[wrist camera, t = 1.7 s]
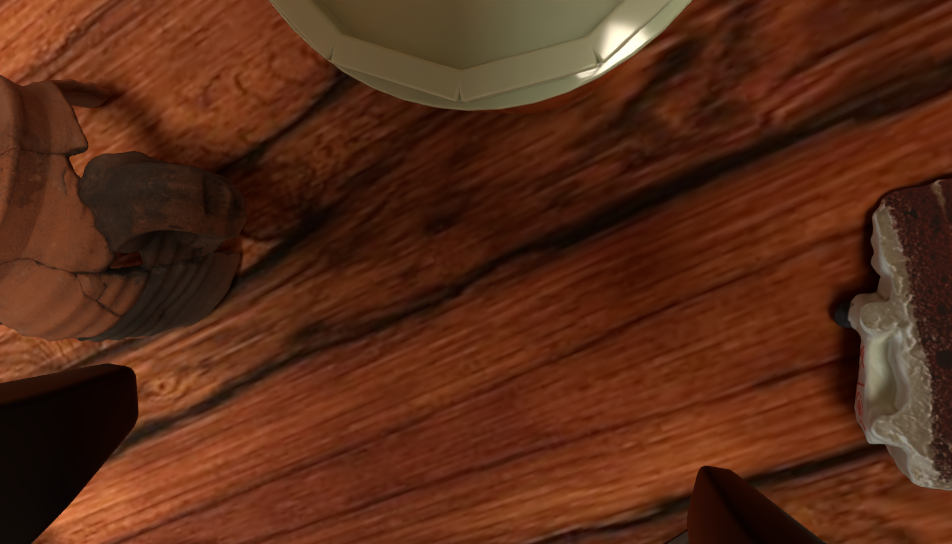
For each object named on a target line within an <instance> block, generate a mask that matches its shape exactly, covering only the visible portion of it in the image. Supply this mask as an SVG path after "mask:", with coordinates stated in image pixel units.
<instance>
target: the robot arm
mask: <svg viewBox="0 0 952 544" xmlns="http://www.w3.org/2000/svg"><path fill="white" fill-rule="evenodd" d="M137 419H138V397H137V383H136V375H135V373H134V371H133V370H132V369H131V368H130V367H126V366H121V365H115V364H100V365H95V366H89V367H84V368H79V369H74V370H68V371H63V372H58V373H53V374H47V375H42V376H37V377H31V378H26V379H21V380H16V381H10V382H5V383H0V544H32V543H33V542H34V541H35V540H36V539H37V538H38V537H39V536H40V535H41V534H42V533H43V532H44V531H45V529H46V528H47V527H48V526H49V525H50V524H51V523H52V522H53V521H54V520H55V519H56V518H57V517H58V516H59V515H60V514H61V513H62V512H63V511H64V510H65V509H66V508H67V507H68V506H69V505H70V503H71V502H72V501H73V500H74V499H75V498H76V496H77V495H78V494H79V493H80V492H81V491H82V489H83V488H84V487H85V486H86V485H87V483H88V482H89V481H90V480H91V479H92V477H93V476H94V475H95V474H96V472H97V471H98V470H99V469H100V468H101V466H102V465H103V464H104V463H105V462H106V460H107V459H108V458H109V457H110V456H111V454H112V453H113V452H114V451H115V450H116V448H117V447H118V446H119V445H120V444H121V442H122V441H123V440H124V439H125V437H126V436H127V435H128V434H129V433H130V431H131V430H132V429H133V427H134V426H135V424H136V421H137ZM687 533H688V541H689V544H826V543H825V542H823V541H822V540H821V539H819V538H818V537H817V536H816V535H814V534H813V533H812V532H810V531H809V530H808V529H806V528H805V527H804V526H803V525H801V524H800V523H799V522H797V521H796V520H795V519H794V518H792V517H791V516H790V515H788V514H787V513H786V512H785V511H783V510H782V509H781V508H779V507H778V506H777V505H775V504H774V503H773V502H772V501H770V500H769V499H768V498H766V497H765V496H764V495H763V494H761V493H760V492H759V491H757V490H756V489H755V488H754V487H752V486H751V485H750V484H748V483H747V482H746V481H745V480H743V479H742V478H741V477H739V476H738V475H737V474H735V473H734V472H733V471H731V470H728V469H723V468H718V467H712V466H703V467H701V468H700V469H699V471H698V474H697V477H696V481H695V485H694V489H693V494H692V498H691V502H690V506H689V510H688V515H687Z"/></svg>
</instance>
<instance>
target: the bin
mask: <svg viewBox="0 0 952 544" xmlns="http://www.w3.org/2000/svg"><path fill="white" fill-rule="evenodd" d="M667 544H689V541H688V533H687V531H686V532H685V533H683V534H682V535H680V536H678V537H677V538H675V539H673V540H672V541H670V542H669V543H667Z"/></svg>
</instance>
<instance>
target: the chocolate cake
mask: <svg viewBox="0 0 952 544" xmlns="http://www.w3.org/2000/svg"><path fill="white" fill-rule="evenodd" d="M872 221H873V234H872V237H871V244H872V247H873V249H874V255H873V256H872V259H871V265H872V267H873V268H874V269H875V271H876V272H877V273H878V274H879V275H880V280H879V284H878V289H877V291H876V292H875V293H871V294H859V295H856V296H855V297H854V298H853V299H852V300H851V301H848V302H843V303H841V304H839V305H838V307H837V308H836V311H835V314H834V319H835V322H836V323H837V324H838V325H839V326H841V327H847V328H853V329H855V330H856V331H857V332H858V333H859V334H860V336H861V344H860V360H859V363H860V369H859V374H858V382H857V388H856V398H855V405H854V409H855V412H856V420H857V423H858V424H859V425H860V426H861V428H862V430H863V432H864V434H865V436H866V440H867V441H868V443H871V444H885V445H886V447H887V449H888V452H889V453H890V455H891V456H892V457H893V458H894V459H895V463H896V466H897V467H898V468H899V469H900V471H901V472H903V473H904V474H905V475H906V476H907V477H908V478H909V479H910V480H911V481H912V482H913V483H914V484H916V485H918V486H922V487H926V488H932V489H942V490H952V178H950V179H941V180H937V181H935V182H933V183H930V184H928V185H925V186H920V187H910V188H905V189H902V190H897V191H894V192H891V193H890V194H888V195H886V196H885V197H883V199H882V201H881V204H880V206H879V208H878V209H877V210H876V211H875V212H874V213H873V215H872Z"/></svg>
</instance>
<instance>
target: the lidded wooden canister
mask: <svg viewBox="0 0 952 544" xmlns="http://www.w3.org/2000/svg"><path fill="white" fill-rule="evenodd" d="M269 1H270V3H271V4H272V5H273V6H274V8H275V9H276V10H277V11H278V12H279V14H280V15H281V16H282V17H283V19H284V20H285V21H286V22H287V23H288V25H289V26H290V27H291V28H292V29H293V30H294V31H295V32H296V33H297V34H298V35H299V36H300V37H301V38H302V39H303V40H304V41H305V42H306V43H307V44H308V45H309V46H310V47H312V48H313V49H314V50H315V51H316V52H317V53H318V54H320V55H321V56H322V57H323V58H325V59H326V60H328V61H329V62H330V63H332V64H333V65H334V66H336V67H337V68H339V69H340V70H341V71H343V72H344V73H346V74H348V75H350V76H351V77H353V78H355V79H357V80H359V81H360V82H362V83H364V84H366V85H368V86H369V87H371V88H373V89H376V90H379V91H381V92H384V93H386V94H389V95H391V96H394V97H397V98H399V99H402V100H405V101H409V102H414V103H418V104H422V105H426V106H430V107H435V108H445V109H455V110H466V111H478V112H492V113H505V114H533V113H539V112H545V111H550V110H553V109H556V108H559V107H562V106H566V105H568V104H570V103H572V102H574V101H576V100H579V99H581V98H583V97H584V96H586V95H587V94H589V93H591V92H592V91H594V90H595V89H597V88H598V87H599V86H601V85H602V84H603V83H604V82H606V81H607V80H608V79H609V78H610V77H612V76H613V75H614V74H615V73H616V72H617V71H618V70H620V69H621V68H622V67H623V66H624V65H625V64H626V63H628V62H629V61H630V60H631V59H632V58H633V57H634V56H636V55H637V54H638V53H639V52H640V51H641V50H642V49H644V48H645V47H646V46H647V45H648V44H649V43H650V42H652V41H653V40H654V39H655V38H656V37H657V36H658V35H660V34H661V33H662V32H663V31H664V30H665V29H666V28H667V27H668V26H669V25H670V24H671V23H672V21H673V20H674V19H675V18H676V17H677V16H678V15H679V14H680V13H681V12H682V11H683V10H684V9H685V8H686V7H687V6H688V5H689V4H690V3H691V2H692V0H269Z"/></svg>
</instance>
